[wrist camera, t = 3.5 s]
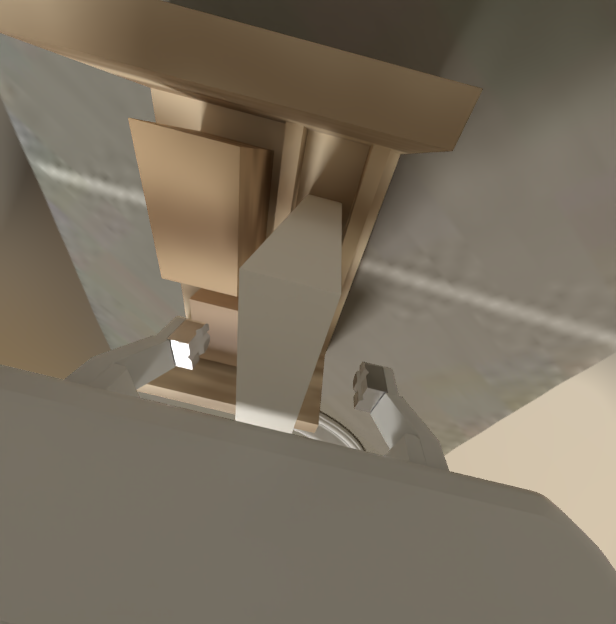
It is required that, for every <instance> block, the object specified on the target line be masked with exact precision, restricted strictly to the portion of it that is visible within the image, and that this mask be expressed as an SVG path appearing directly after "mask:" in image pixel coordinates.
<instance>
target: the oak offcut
mask: <svg viewBox="0 0 616 624" xmlns="http://www.w3.org/2000/svg"><path fill="white" fill-rule="evenodd" d="M128 120H129V125H130V129H131V134H132V139H133V144H134V148H135V153H136V158H137V163H138V167H139V172H140V177H141V181H142V186H143V191H144V196H145V200H146V205H147V210H148V215H149V219H150V224H151V229H152V234H153V238H154V243H155V248H156V253H157V257H158V262H159V267H160V272H161V276H162V278H164V279H168V280H172V281H176V282H180V283H184V284H188V285H192V286H196V287H200V288H204V289H208V290H212V291H216V292H220V293H224V294H228V295H232V296H236V297H237V296H238V295H239V268H240V267H241V266H242V265H243V264H244V263H245V262H246V261H247V260H248V259H249V258H250V256H251V255H252V254H253V253H254V252H255V251H256V250H257V249H258V248H259V247H260V246H261V245H262V244H263V242H264V241H265V240H266V231H267V221H268V210H269V200H270V189H271V179H272V169H273V158H274V150H270V149H266V148H263V147H259V146H255V145H251V144H247V143H244V142H240V141H236V140H232V139H228V138H225V137H221V136H217V135H213V134H209V133H206V132H202V131H197V130H192V129H186V128H181V127H176V126H170V125H165V124H159V123H154V122H149V121H143V120H138V119H133V118H128Z"/></svg>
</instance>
